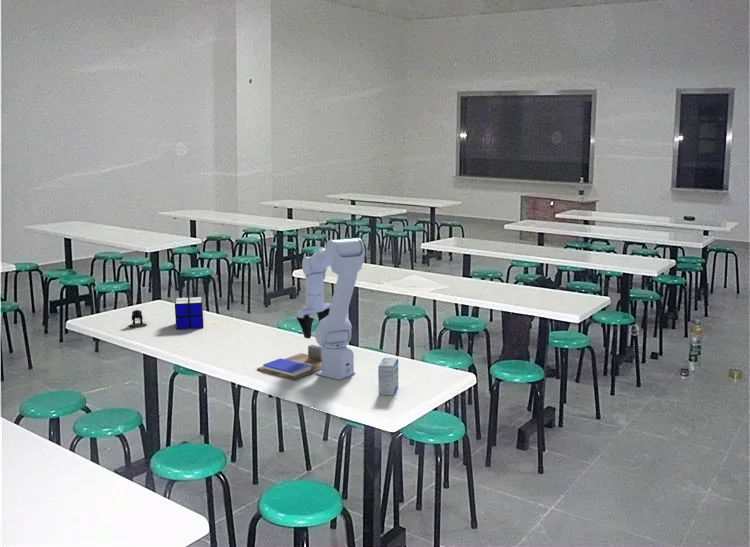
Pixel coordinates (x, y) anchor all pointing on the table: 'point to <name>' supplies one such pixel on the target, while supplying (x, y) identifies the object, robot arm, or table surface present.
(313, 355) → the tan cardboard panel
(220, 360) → the table surface
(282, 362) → the hard drive
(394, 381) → the medicine box
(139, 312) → the toy robot
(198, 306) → the puzzle cube
